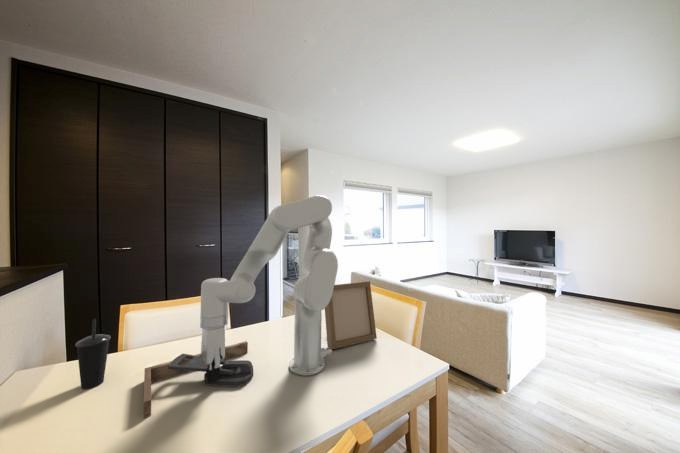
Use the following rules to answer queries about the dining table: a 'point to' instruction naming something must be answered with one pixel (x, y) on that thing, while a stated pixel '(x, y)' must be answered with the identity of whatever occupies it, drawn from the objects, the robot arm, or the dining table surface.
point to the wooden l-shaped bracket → (163, 371)
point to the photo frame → (350, 315)
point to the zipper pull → (230, 372)
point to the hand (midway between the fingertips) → (213, 380)
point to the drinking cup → (92, 358)
